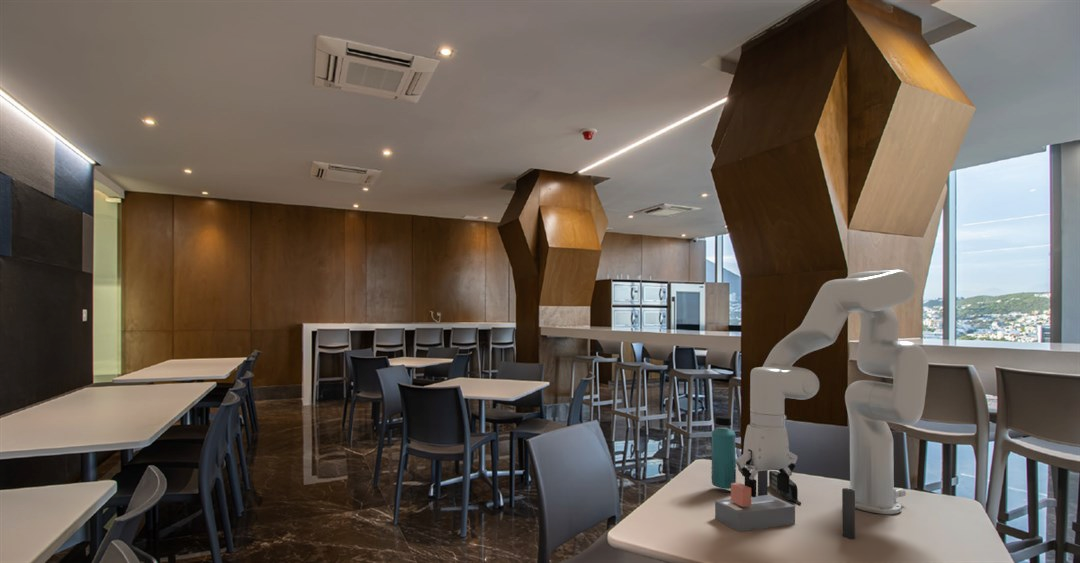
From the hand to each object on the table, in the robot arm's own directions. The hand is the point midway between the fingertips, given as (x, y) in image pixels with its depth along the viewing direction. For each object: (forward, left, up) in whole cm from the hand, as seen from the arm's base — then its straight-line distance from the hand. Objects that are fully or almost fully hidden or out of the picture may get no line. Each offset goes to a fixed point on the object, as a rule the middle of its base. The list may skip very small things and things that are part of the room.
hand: (767, 493), depth 126 cm
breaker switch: (+8, 0, -2) cm, 8 cm away
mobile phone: (-17, -13, -6) cm, 22 cm away
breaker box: (+4, 0, -6) cm, 7 cm away
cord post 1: (-10, -13, -6) cm, 18 cm away
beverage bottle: (-3, -20, -6) cm, 21 cm away
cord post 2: (-10, +13, -6) cm, 18 cm away
